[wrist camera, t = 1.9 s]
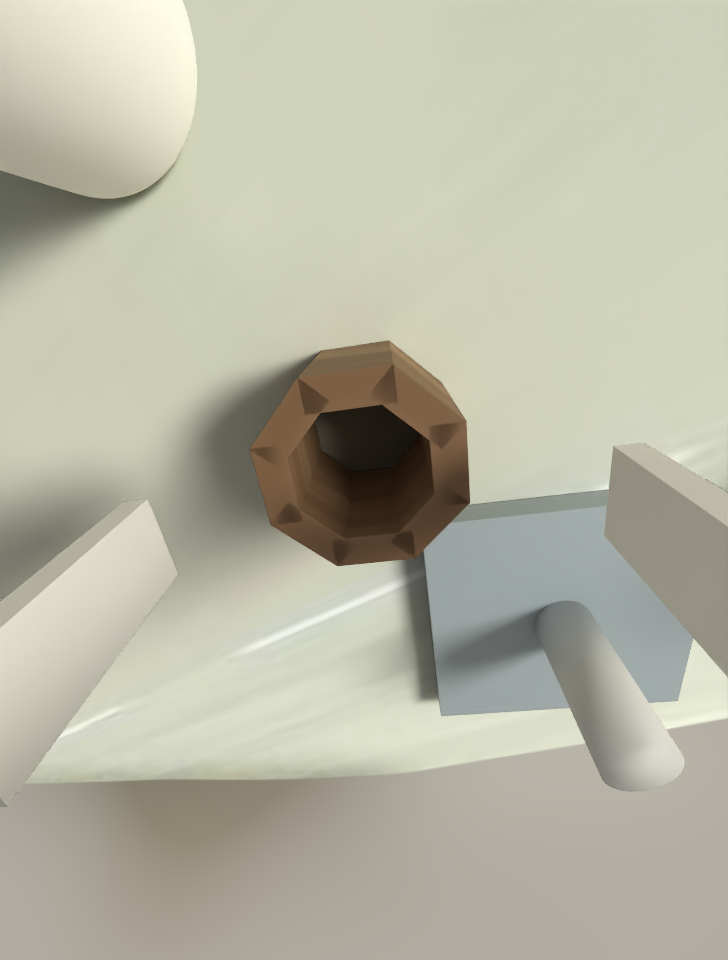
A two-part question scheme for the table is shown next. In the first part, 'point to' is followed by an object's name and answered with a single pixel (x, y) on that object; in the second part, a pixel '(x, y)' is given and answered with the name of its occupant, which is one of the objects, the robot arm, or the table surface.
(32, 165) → the beverage can
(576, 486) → the table surface
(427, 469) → the collar
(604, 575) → the post block
